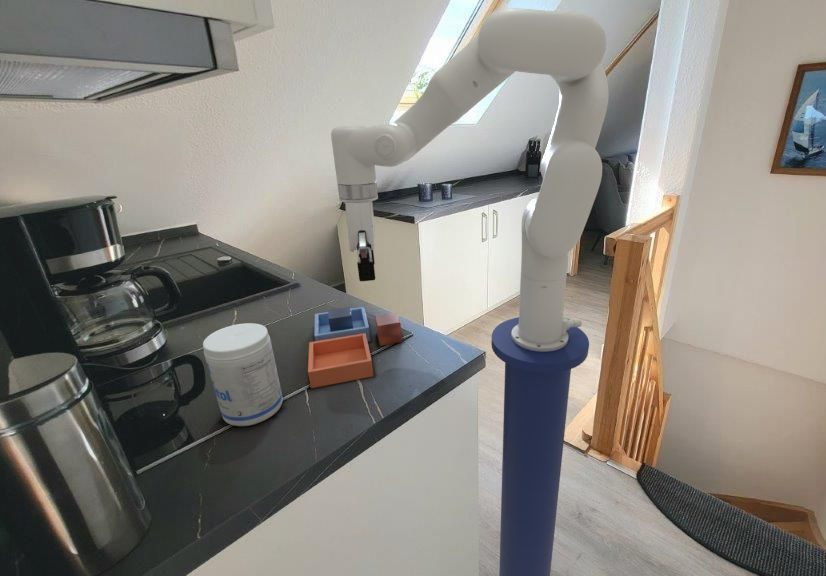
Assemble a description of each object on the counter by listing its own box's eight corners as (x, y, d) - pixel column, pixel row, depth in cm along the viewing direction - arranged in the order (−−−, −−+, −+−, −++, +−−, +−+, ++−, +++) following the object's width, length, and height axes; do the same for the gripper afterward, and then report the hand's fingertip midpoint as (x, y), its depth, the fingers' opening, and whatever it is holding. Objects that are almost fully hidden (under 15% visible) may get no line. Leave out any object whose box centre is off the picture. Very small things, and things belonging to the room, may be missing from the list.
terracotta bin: (367, 347, 89) (365, 333, 88) (373, 376, 79) (371, 360, 78) (311, 357, 86) (309, 342, 85) (310, 388, 76) (307, 372, 74)
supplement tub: (211, 418, 68) (186, 342, 63) (259, 387, 76) (241, 317, 71) (249, 436, 64) (226, 357, 59) (296, 401, 72) (280, 328, 66)
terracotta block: (398, 331, 96) (396, 312, 94) (402, 342, 91) (400, 322, 89) (377, 335, 94) (374, 316, 92) (379, 345, 90) (377, 325, 88)
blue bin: (365, 319, 102) (363, 306, 100) (370, 341, 92) (369, 327, 90) (317, 327, 98) (314, 313, 97) (316, 350, 88) (314, 336, 87)
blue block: (352, 325, 98) (350, 306, 96) (354, 334, 93) (351, 315, 91) (331, 328, 96) (328, 309, 94) (331, 338, 92) (328, 318, 90)
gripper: (341, 186, 88) (351, 261, 94) (335, 200, 72) (347, 289, 79) (376, 185, 89) (383, 258, 96) (378, 198, 74) (386, 285, 80)
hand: (367, 272), depth 87 cm, fingers open, 9 cm apart
